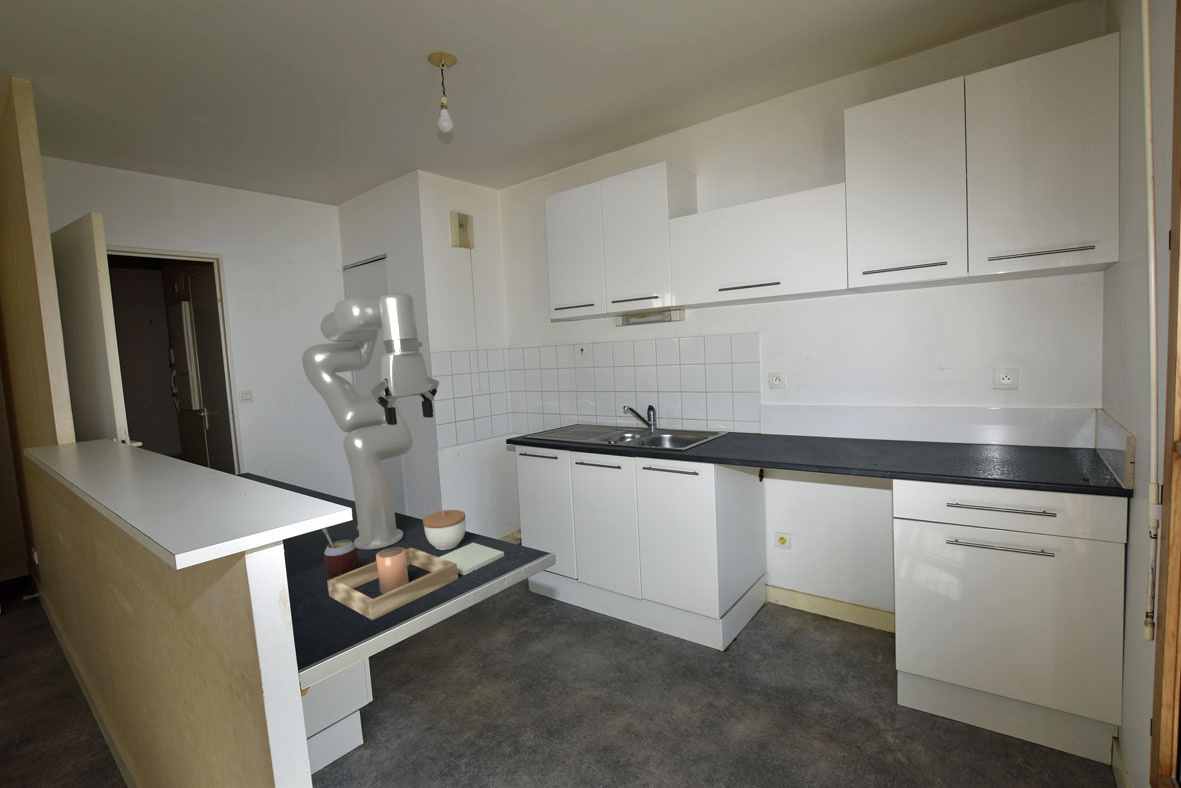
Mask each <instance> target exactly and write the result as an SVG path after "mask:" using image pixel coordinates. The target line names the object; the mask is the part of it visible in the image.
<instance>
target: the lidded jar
mask: <svg viewBox="0 0 1181 788" xmlns="http://www.w3.org/2000/svg"><path fill="white" fill-rule="evenodd" d="M466 522H467V521H466V513H465V512H464V511H462V510H459V509H457V510H456V509H448V510H446V509H442V510H441V511H437V512H433V513H431V514H429V515H427V516H425V517H424V518H423V520H422V524H423V528H424V530H423V531H424V534H425V537H426V539H427V541H428V542H429V544H430V545H432V547H434V548H435V549H436V550H438V549H439V550H440V551H445V550H446V549H447V550H451V549H453V548H457V547H458V546H459V545H460V542H461V541H462V540H463V539H464V536H465V534H466V526H467V524H466ZM457 545H458V546H457Z"/></svg>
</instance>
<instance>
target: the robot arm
mask: <svg viewBox="0 0 1181 788" xmlns="http://www.w3.org/2000/svg"><path fill="white" fill-rule="evenodd" d="M416 321H417V320H416V314H415V306H414V298H413V297H412V296H411V295H410V294H408V293H388V294H384V295H381V296H380V297H379V296H378V297H377V296H370V297H369V296H366V297H363V296H361V297H350V298H346V299H343V300H340V301H337V303H336V304H335V307H334V309H333V311H332V312H330V313H328V314H327V315H325V316H324V317H323V318H322V320H321V322H320V326H319V327H320V331H321V334H322V335H323V337H325V338H326V339H327V340H328V341H331V342H332V343H331V342H330V343H321V344H315V345H311V346H310V347H308V348H307V349H306V350H304V352H303V354H302V357H301V358H302V359H301V361H302V368H303V371H304V374H305V376H306V379H307V380H308V382H309V384H310V385H311V386H312V388H313V389H315V391H316V392H318V393H319V395H320V396H321V397H322V399H323V400H324V401H325V403H326V407H328V409H329V412H330V413H331V416H332V417H333V419H334V421H335V423H336V425H337V426H338V428H339V429H340V430H341V431H343V432H344V433H347V434H346V435H345V436H344V439H343V450H344V453H345V457H346V459H347V463H348V466H349V471H350V475H351V482H352V487H353V495H354V496H353V498H354V504H355V512H356V518H357V526H356V530H358V537H357V538H355V539H354V542H353V543H354V544H355V547H356V549H358V550H367V551H368V550H376V549H381V548H386V547H388V546H391V545H394V544H396V543H398V542H400V541H401V540H402V539H403V537H404V531H403V530H402V529H399V528H397V523H396V522H397V521H396V515H395V514H396V513H395V505H394V497H393V496H394V495H393V490H392V482H391V476H390V473H389V471H388V470H387V469H386V468H385V467H384V466H382V464H380V461H383V460H386V459H391V458H395V457H399V456H403V455H405V454H407V453H409V452H410V451H411V450H412V447H413V437H412V433H411V431H410V428H409V426H408V425H407V423H406V421H405V420H404V418H403V416H402V415H401V413H400V411H399V409H398V408H397V406H396V405H395V402H396V400H397V399H398V398H399V399H400V398H406V397H407V398H409V397H413V396H414V397H415V396H419V397H420V398H421V399H422V400H421V409H422V410H421V411H422V417H423V418H433V417H434V414H433V413H434V408H433V407H434V406H433V401H434V400H435V396H436V395H437V393H438V388H439V385H440V381H439V380H437V379H435V378H432V377H430V376H428V370H427V367H426V363H425V360H424V356H423V353H422V352H420V348H422V347H423V343H422V341H419V338H418V337H419V336H418V332H417V330H418V329H417V323H416ZM380 330H382V339H383V347H384V353H385V354H384V355H381V360H380V383H379V384H377V385H376V386H374V387H373V388H371V389H370V393H371V395H364V396H363V395H360V394H359V393H358V392H357V390H356V387H354V385H353V384H352V383H351V382H350V381H349V380H347V379H346V378H344V377H342V376H340V375H338V374H337V373H346V372H354V371H355V372H356V371H362V370H365V369H367V367H369V365H370V363H371V360H372V357H373V354H374V350H375V347H376V344H377V341H378V336H379V331H380Z"/></svg>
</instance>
